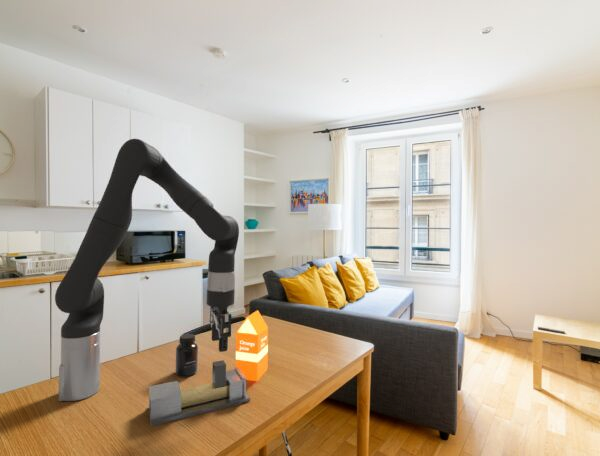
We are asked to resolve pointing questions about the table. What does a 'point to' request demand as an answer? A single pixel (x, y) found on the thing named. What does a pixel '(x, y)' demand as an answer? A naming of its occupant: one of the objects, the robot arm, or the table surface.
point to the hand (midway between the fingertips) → (219, 345)
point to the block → (207, 388)
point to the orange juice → (252, 347)
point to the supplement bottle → (186, 356)
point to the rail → (169, 404)
